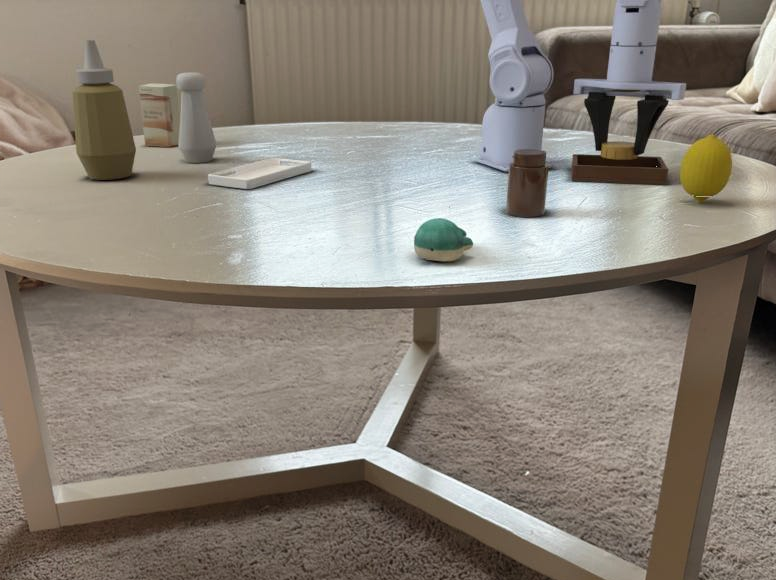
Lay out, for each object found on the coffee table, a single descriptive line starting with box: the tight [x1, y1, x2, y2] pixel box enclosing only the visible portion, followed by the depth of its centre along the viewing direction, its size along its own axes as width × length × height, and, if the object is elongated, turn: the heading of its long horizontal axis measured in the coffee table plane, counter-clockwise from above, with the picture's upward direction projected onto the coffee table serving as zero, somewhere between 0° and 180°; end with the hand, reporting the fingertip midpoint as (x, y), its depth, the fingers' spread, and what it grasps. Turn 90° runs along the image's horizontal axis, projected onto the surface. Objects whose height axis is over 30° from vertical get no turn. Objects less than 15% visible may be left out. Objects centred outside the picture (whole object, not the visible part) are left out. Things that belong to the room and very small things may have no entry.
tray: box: [571, 153, 669, 186], centre depth 106 cm, size 12×9×2 cm
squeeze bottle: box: [72, 39, 137, 181], centre depth 104 cm, size 8×8×18 cm
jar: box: [505, 149, 550, 218], centre depth 86 cm, size 4×4×7 cm
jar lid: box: [600, 140, 639, 160], centre depth 105 cm, size 5×5×2 cm
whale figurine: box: [413, 217, 474, 262], centre depth 72 cm, size 6×7×4 cm
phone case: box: [207, 157, 313, 190], centre depth 107 cm, size 7×1×15 cm
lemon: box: [679, 134, 733, 204], centre depth 90 cm, size 6×6×8 cm
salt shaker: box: [175, 71, 217, 164], centre depth 117 cm, size 6×6×13 cm
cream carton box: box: [138, 82, 180, 148], centre depth 132 cm, size 5×4×10 cm
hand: (619, 152), depth 105 cm, fingers closed on jar lid, 5 cm apart
